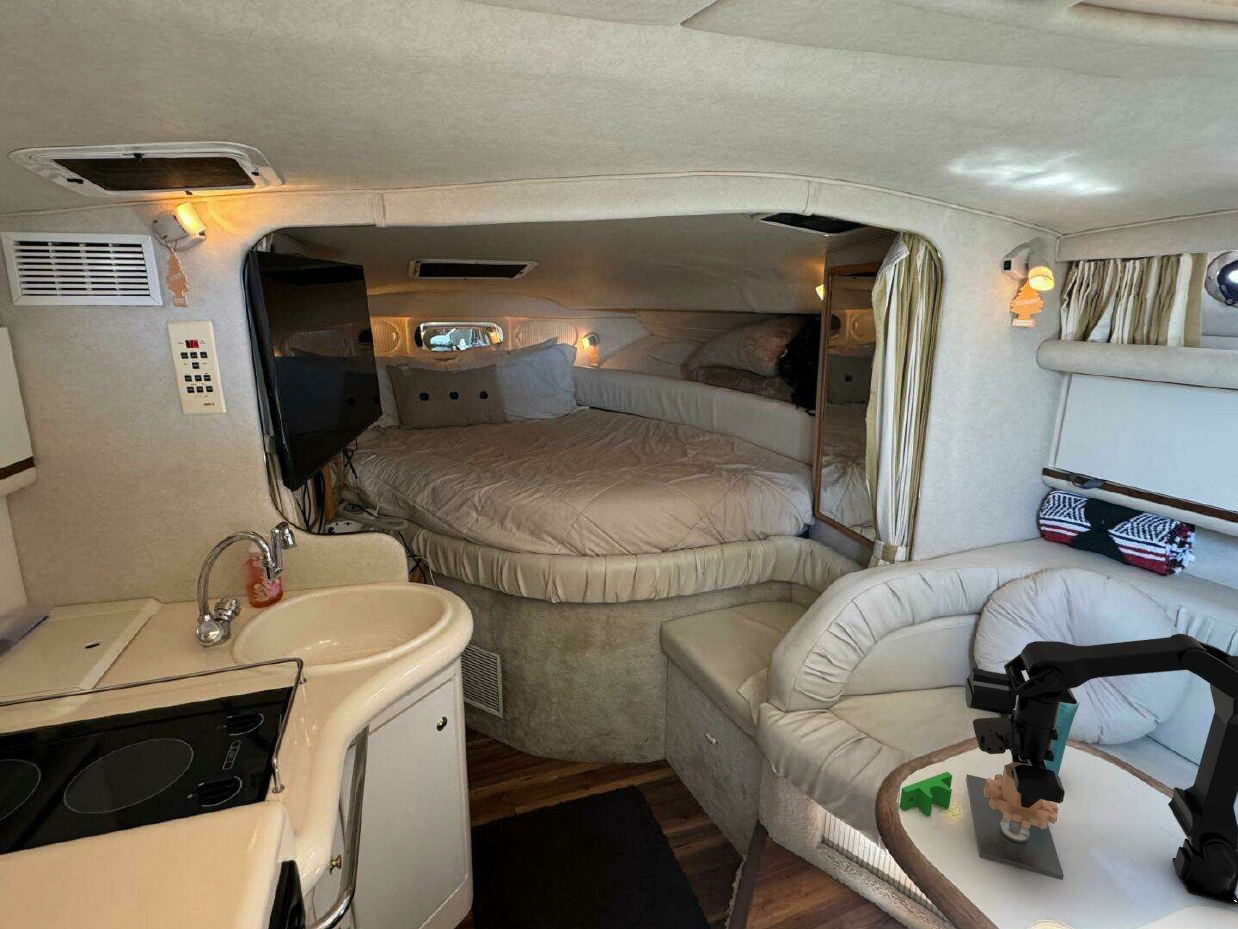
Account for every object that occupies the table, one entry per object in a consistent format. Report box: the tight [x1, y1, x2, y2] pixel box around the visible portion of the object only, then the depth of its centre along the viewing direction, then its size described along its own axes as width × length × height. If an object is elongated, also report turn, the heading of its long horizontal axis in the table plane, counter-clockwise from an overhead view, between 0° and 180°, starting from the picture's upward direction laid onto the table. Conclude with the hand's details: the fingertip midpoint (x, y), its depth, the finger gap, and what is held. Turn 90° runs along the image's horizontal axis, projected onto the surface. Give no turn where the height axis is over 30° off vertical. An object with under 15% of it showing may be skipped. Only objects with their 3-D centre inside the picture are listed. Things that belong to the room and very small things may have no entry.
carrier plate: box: [965, 773, 1065, 881], centre depth 112 cm, size 12×19×7 cm, turn 158°
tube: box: [1044, 700, 1080, 776], centre depth 121 cm, size 7×5×19 cm, turn 32°
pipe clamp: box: [899, 771, 953, 818], centre depth 117 cm, size 11×4×5 cm, turn 110°
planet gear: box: [984, 761, 1059, 829], centre depth 107 cm, size 11×11×6 cm
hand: (1021, 793), depth 108 cm, fingers closed on planet gear, 6 cm apart
